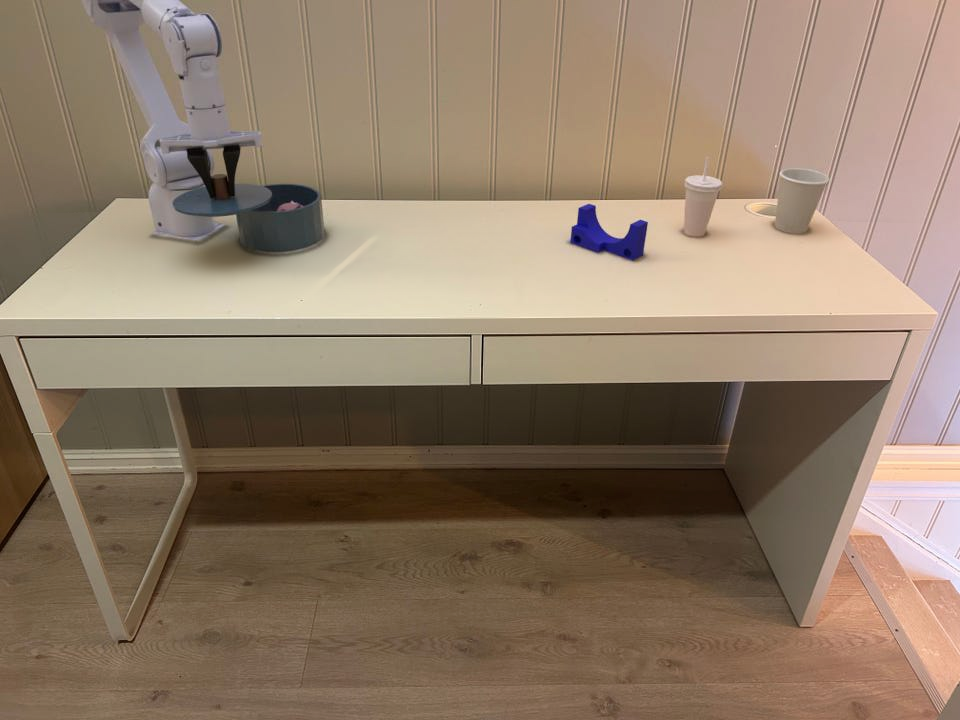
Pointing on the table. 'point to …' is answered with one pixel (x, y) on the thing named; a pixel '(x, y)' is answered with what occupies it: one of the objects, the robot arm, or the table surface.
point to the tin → (283, 220)
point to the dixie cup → (798, 198)
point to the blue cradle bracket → (607, 235)
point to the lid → (222, 199)
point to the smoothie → (699, 201)
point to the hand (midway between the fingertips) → (222, 195)
